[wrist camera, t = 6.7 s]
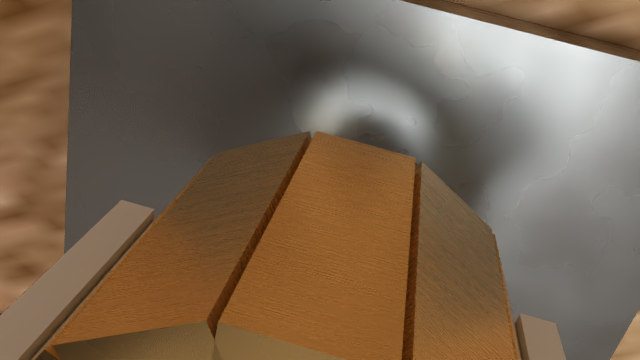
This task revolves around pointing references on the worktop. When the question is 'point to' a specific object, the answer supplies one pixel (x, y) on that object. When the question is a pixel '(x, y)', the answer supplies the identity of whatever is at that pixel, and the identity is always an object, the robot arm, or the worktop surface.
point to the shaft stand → (381, 124)
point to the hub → (302, 266)
